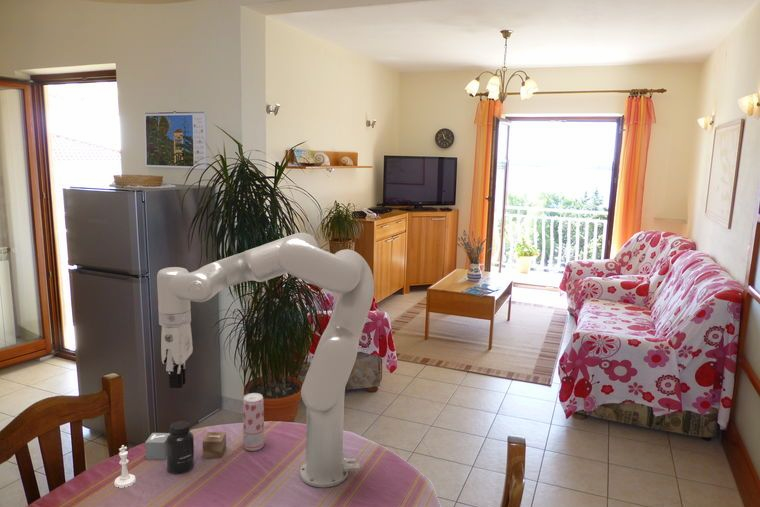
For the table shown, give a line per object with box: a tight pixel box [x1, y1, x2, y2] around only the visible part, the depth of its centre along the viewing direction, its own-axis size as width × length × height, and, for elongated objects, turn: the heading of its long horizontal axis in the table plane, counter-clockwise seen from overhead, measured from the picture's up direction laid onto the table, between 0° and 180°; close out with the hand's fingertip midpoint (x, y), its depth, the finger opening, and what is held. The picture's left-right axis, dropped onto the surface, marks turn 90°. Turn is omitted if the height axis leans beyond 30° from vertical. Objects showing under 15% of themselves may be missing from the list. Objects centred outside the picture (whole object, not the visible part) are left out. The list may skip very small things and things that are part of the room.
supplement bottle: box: [166, 420, 195, 475], centre depth 144 cm, size 7×7×12 cm
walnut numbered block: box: [202, 431, 227, 459], centre depth 152 cm, size 5×5×5 cm
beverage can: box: [242, 392, 265, 452], centre depth 155 cm, size 6×6×15 cm
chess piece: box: [114, 444, 137, 489], centre depth 137 cm, size 5×5×10 cm
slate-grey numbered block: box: [144, 432, 170, 460], centre depth 150 cm, size 5×5×5 cm
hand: (177, 385), depth 141 cm, fingers closed
